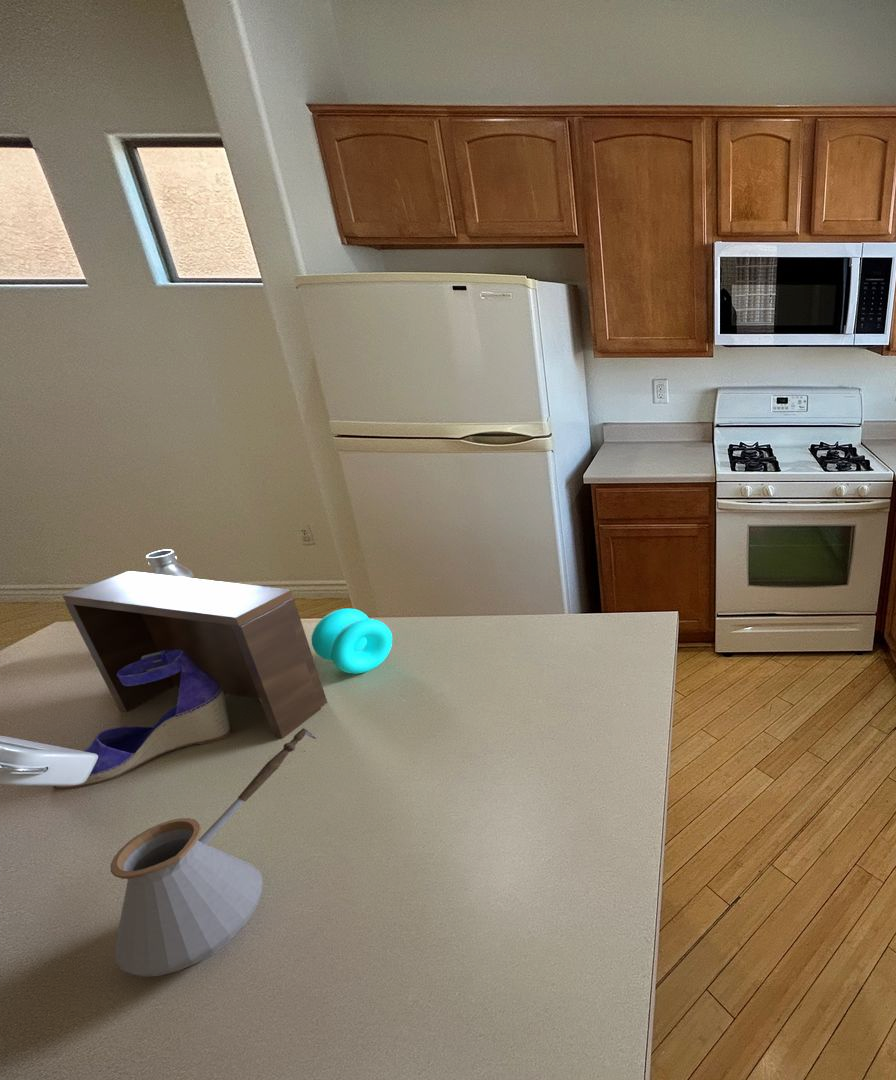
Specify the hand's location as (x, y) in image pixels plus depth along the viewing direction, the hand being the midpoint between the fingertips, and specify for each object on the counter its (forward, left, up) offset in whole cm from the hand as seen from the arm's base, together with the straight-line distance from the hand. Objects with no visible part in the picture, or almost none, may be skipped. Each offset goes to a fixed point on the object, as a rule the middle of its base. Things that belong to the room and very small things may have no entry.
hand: (78, 758), depth 73 cm
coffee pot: (+34, -7, -6) cm, 35 cm away
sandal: (0, +7, -6) cm, 9 cm away
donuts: (+12, +33, -6) cm, 35 cm away
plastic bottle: (-22, +31, -6) cm, 38 cm away
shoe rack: (0, +18, -6) cm, 19 cm away
